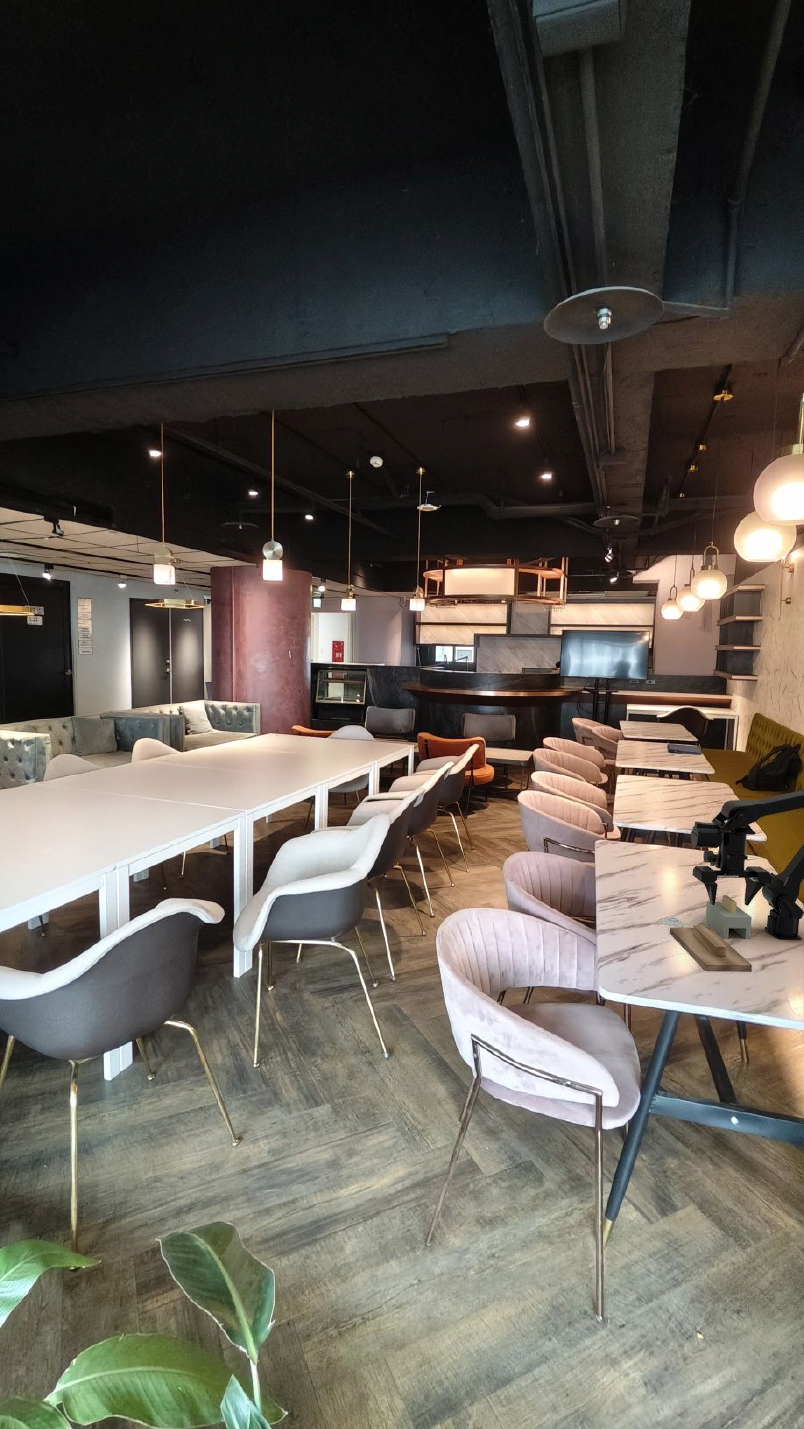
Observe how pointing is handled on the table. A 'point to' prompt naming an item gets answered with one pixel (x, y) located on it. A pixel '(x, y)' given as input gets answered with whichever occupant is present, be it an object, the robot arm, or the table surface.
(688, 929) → the cleat board
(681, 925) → the mounting bracket
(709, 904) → the cabinet block
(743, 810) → the robot arm
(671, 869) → the table surface
